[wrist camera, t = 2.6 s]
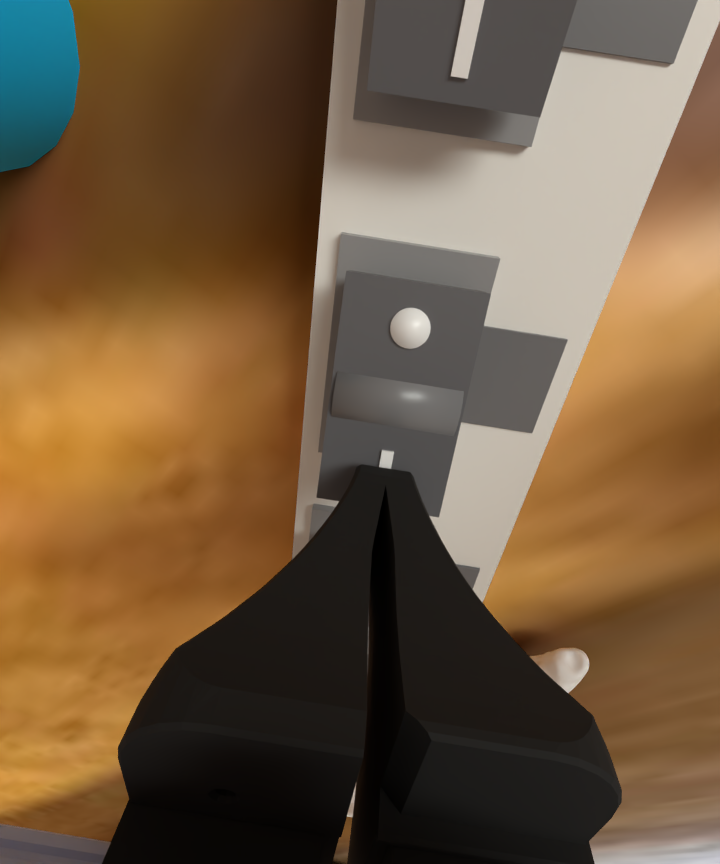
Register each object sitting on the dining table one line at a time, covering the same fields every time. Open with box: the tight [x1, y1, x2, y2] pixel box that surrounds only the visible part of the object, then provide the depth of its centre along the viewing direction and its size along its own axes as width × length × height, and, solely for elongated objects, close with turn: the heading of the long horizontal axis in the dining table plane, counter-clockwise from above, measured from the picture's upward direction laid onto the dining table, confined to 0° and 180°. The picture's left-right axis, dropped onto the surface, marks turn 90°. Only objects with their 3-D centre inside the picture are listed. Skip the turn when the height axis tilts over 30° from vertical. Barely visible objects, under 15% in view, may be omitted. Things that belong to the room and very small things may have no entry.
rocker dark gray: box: [316, 270, 491, 517], centre depth 12 cm, size 3×6×2 cm, turn 172°
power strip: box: [292, 0, 720, 603], centre depth 14 cm, size 8×34×5 cm, turn 172°
